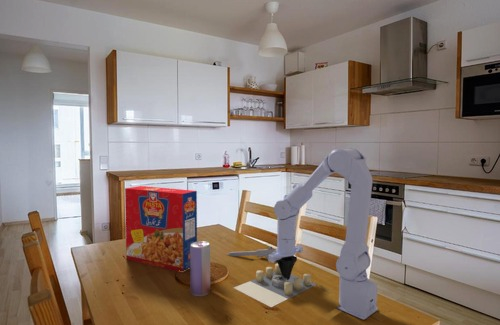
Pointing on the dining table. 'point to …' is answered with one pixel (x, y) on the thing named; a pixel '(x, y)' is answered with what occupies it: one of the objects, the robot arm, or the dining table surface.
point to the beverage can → (200, 268)
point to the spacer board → (271, 294)
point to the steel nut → (279, 281)
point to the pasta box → (160, 226)
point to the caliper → (254, 253)
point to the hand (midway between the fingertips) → (285, 278)
